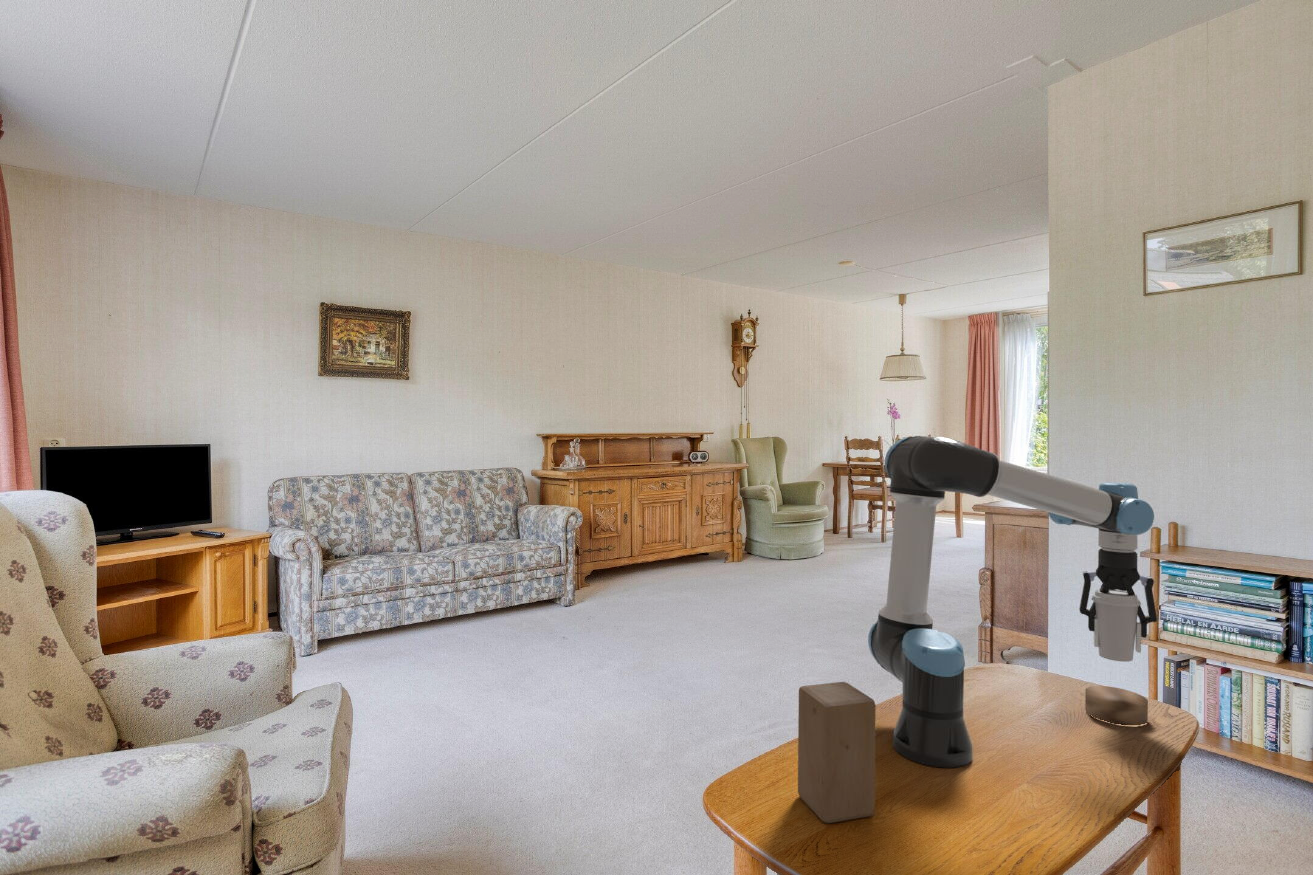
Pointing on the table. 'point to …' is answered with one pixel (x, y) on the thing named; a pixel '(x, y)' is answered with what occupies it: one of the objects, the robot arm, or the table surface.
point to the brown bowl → (1116, 705)
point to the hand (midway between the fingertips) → (1116, 647)
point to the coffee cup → (1116, 624)
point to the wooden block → (836, 751)
